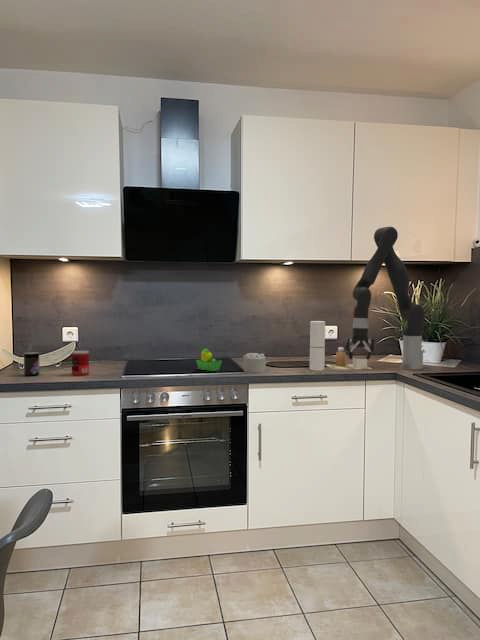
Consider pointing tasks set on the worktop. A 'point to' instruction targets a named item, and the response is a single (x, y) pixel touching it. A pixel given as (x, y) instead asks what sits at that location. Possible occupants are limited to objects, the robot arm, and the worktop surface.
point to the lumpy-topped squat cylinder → (254, 363)
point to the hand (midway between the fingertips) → (359, 359)
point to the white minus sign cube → (359, 363)
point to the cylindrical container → (317, 345)
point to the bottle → (340, 357)
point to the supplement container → (31, 364)
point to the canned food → (80, 363)
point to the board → (347, 366)
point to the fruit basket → (208, 362)
